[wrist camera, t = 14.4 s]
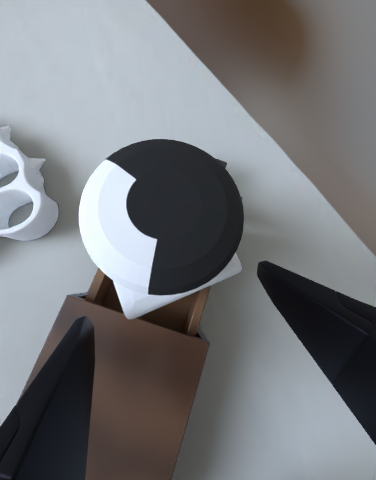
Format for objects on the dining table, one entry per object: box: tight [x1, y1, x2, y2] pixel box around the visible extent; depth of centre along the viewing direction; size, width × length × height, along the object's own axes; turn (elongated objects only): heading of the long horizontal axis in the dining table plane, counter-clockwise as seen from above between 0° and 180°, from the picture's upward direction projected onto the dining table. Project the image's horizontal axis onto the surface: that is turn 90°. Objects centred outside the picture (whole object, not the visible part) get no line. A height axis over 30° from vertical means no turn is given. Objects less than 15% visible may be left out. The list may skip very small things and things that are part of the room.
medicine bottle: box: [79, 139, 244, 319], centre depth 12 cm, size 7×7×12 cm
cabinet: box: [16, 292, 210, 480], centre depth 17 cm, size 16×12×6 cm
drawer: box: [85, 158, 242, 336], centre depth 21 cm, size 20×11×5 cm, turn 161°
